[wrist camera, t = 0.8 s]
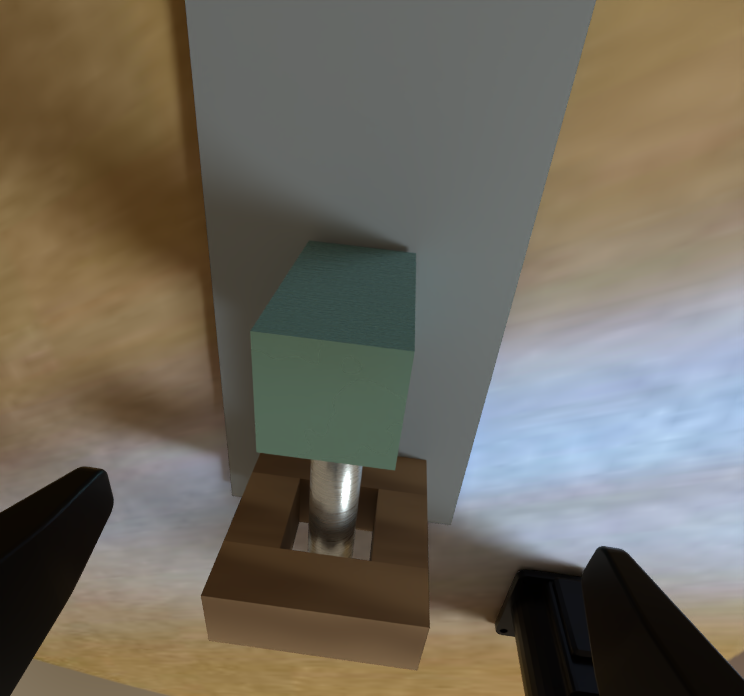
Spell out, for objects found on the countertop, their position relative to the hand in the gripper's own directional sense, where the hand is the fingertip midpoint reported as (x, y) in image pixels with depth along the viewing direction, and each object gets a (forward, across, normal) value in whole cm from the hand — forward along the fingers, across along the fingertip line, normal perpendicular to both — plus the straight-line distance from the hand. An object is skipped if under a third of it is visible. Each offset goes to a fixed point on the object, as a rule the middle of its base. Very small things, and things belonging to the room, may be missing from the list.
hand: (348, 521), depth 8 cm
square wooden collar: (+12, +1, +11) cm, 16 cm away
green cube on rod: (+11, +1, +7) cm, 13 cm away
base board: (+12, +1, +2) cm, 12 cm away
